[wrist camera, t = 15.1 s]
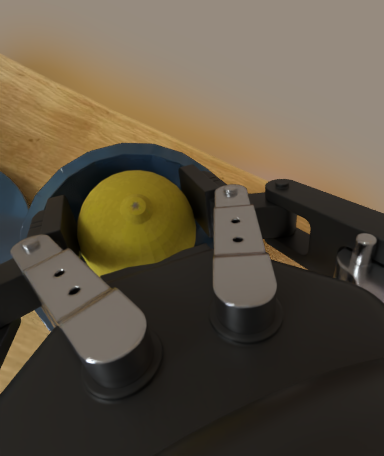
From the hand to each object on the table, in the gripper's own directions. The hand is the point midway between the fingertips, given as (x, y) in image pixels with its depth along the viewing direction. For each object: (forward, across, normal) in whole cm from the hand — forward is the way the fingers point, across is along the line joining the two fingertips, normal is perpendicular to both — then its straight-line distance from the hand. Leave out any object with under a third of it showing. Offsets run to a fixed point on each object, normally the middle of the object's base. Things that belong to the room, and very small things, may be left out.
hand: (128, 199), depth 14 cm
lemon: (+2, 0, +4) cm, 5 cm away
